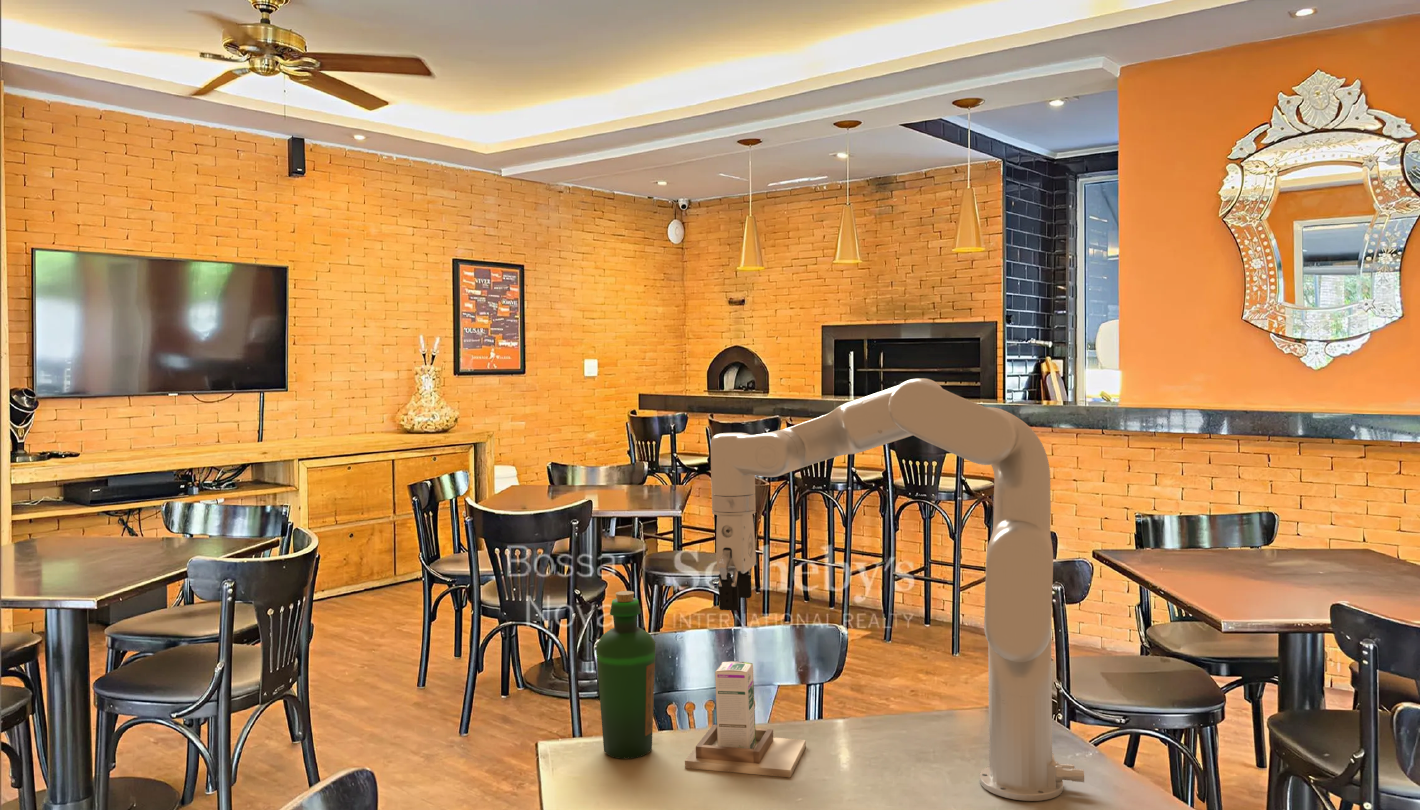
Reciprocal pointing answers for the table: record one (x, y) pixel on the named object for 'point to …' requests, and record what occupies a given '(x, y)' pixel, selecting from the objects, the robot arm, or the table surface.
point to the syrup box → (735, 705)
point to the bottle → (626, 681)
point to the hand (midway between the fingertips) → (735, 603)
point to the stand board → (748, 755)
